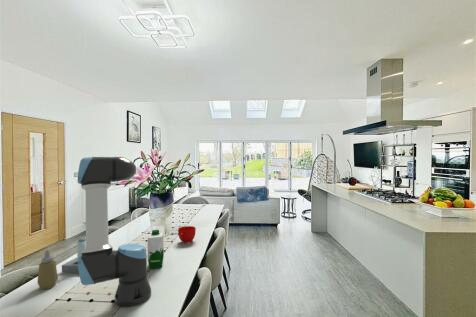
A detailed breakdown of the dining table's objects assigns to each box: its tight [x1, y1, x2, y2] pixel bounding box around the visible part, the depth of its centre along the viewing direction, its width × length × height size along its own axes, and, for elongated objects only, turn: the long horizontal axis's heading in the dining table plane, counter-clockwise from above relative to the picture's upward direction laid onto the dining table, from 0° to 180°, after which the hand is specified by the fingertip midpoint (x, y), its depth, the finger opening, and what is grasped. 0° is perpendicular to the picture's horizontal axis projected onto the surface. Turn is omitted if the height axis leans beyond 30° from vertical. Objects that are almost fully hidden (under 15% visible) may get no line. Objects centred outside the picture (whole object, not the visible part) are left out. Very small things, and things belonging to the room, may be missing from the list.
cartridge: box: [76, 237, 86, 264], centre depth 145 cm, size 5×5×17 cm
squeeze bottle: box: [37, 249, 59, 290], centre depth 124 cm, size 8×8×18 cm
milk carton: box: [147, 229, 165, 270], centre depth 147 cm, size 9×9×20 cm
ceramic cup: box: [177, 225, 197, 244], centre depth 187 cm, size 13×17×10 cm
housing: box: [61, 249, 116, 274], centre depth 151 cm, size 24×16×4 cm, turn 173°
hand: (97, 227), depth 158 cm, fingers closed
